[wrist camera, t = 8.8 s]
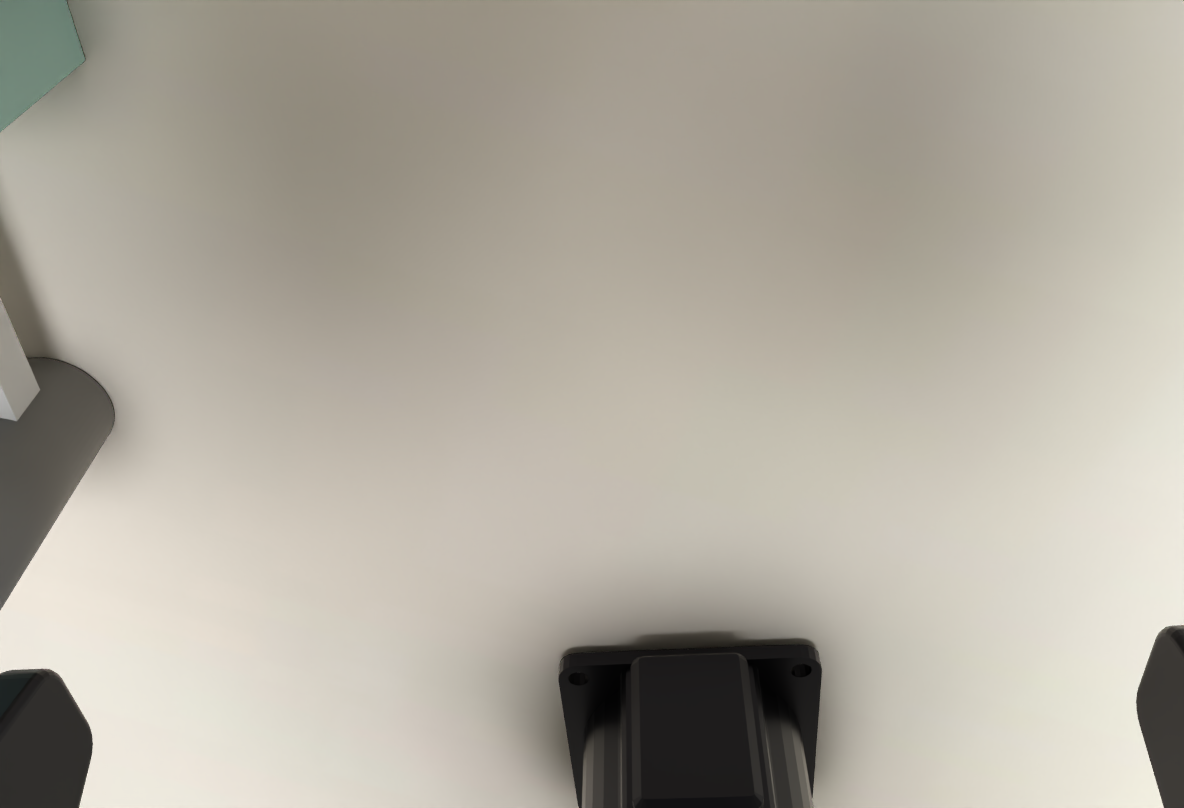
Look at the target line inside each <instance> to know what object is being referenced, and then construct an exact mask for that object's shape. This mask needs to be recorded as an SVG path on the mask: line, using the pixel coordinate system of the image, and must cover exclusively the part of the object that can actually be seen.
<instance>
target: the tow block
mask: <svg viewBox="0 0 1184 808" xmlns="http://www.w3.org/2000/svg"><path fill="white" fill-rule="evenodd" d="M84 61H85V57H84V54H83V51H82V48H81V44H80V41H79V38H78V35H77V32H76V29H75V26H74V23H73V20H72V17H71V14H70V10H69V7H68V4H67V1H66V0H0V132H1V131H2V130H4V129H5V128H6V127H7V126H8V125H9V124H11V123H12V122H13V121H14V120H15V119H17V118H18V117H19V116H20V115H21V114H22V113H24V112H25V111H26V110H27V109H28V108H30V107H31V106H32V105H33V104H34V103H36V102H37V101H38V100H39V99H40V98H41V97H43V96H44V95H45V94H46V93H47V92H49V91H50V90H51V89H52V88H53V87H54V86H56V85H57V84H58V83H59V82H60V81H62V80H63V79H64V78H65V77H66V76H67V75H69V74H70V73H71V72H72V71H73V70H75V69H76V68H77V67H78V66H79V65H80V64H82V63H83V62H84ZM113 424H114V409H113V406H112V403H111V401H110V399H109V397H108V395H107V394H106V392H105V391H104V390H103V388H102V387H101V386H100V385H99V384H98V383H97V382H96V381H95V380H94V379H93V378H91V377H90V376H89V375H88V374H86V373H85V372H83V371H81V370H80V369H78V368H76V367H74V366H72V365H70V364H67V363H64V362H61V361H58V360H54V359H48V358H26V356H25V353H24V351H23V349H22V346H21V344H20V342H19V339H18V337H17V335H16V332H15V330H14V328H13V325H12V323H11V321H10V319H9V316H8V314H7V312H6V309H5V307H4V305H3V302H2V300H1V298H0V610H1V608H2V607H3V605H4V604H5V602H6V600H7V599H8V597H9V595H10V594H11V592H12V591H13V589H14V587H15V586H16V584H17V582H18V581H19V579H20V578H21V576H22V574H23V573H24V571H25V570H26V568H27V566H28V565H29V563H30V561H31V560H32V558H33V557H34V555H35V553H36V552H37V550H38V548H39V547H40V545H41V544H42V542H43V540H44V539H45V537H46V536H47V534H48V532H49V531H50V529H51V527H52V526H53V524H54V523H55V521H56V519H57V518H58V516H59V514H60V513H61V511H62V510H63V508H64V506H65V505H66V503H67V502H68V500H69V498H70V497H71V495H72V493H73V492H74V490H75V489H76V487H77V485H78V484H79V482H80V480H81V479H82V477H83V476H84V474H85V472H86V471H87V469H88V468H89V466H90V464H91V463H92V461H93V459H94V458H95V456H96V455H97V453H98V451H99V450H100V448H101V446H102V445H103V443H104V442H105V440H106V438H107V437H108V435H109V433H110V432H111V430H112V428H113Z"/></svg>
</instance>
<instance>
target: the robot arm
mask: <svg viewBox="0 0 1184 808" xmlns="http://www.w3.org/2000/svg"><path fill="white" fill-rule="evenodd" d="M798 664H799V665H798ZM578 672H580V673H578ZM821 674H822V668H821V663H820V658H819V654H818V651H817V650H816V649H815V648H813V647H811V646H808V645H774V646H748V647H722V648H696V649H670V650H644V651H618V652H592V653H575V654H569V655H568V656H566V657H564V658H563V659H562V660H561V661H560V665H559V686H560V692H561V698H562V705H563V711H564V718H565V724H566V730H567V737H568V743H569V750H570V756H571V762H572V769H573V775H574V781H575V788H576V794H577V801H578V806H579V808H813V802H812V797H813V783H814V769H815V756H816V742H817V729H818V715H819V701H820V688H821ZM1136 703H1137V714H1138V720H1139V724H1140V727H1141V731H1142V734H1143V737H1144V741H1145V744H1146V748H1147V751H1148V755H1149V758H1150V761H1151V765H1152V768H1153V772H1154V775H1155V779H1156V782H1157V785H1158V789H1159V792H1160V796H1161V799H1162V803H1163V806H1164V808H1184V625H1178V626H1168V627H1165V628H1164V629H1163V630H1162V631H1160V632H1159V633H1158V635H1157V637H1156V640H1155V642H1154V645H1153V648H1152V651H1151V654H1150V656H1149V659H1148V662H1147V665H1146V668H1145V671H1144V673H1143V676H1142V679H1141V682H1140V685H1139V688H1138V692H1137V700H1136ZM92 746H93V742H92V734H91V730H90V726H89V724H88V722H87V720H86V719H85V717H84V715H83V714H82V712H81V710H80V709H79V707H78V705H77V703H76V702H75V700H74V698H73V697H72V695H71V693H70V692H69V690H68V688H67V687H66V685H65V683H64V681H63V680H62V678H61V677H60V676H59V675H58V674H57V673H56V672H54V671H52V670H50V669H28V670H11V671H6V672H3V673H1V674H0V808H79V805H80V801H81V797H82V793H83V789H84V785H85V781H86V777H87V773H88V768H89V764H90V760H91V755H92Z"/></svg>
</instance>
